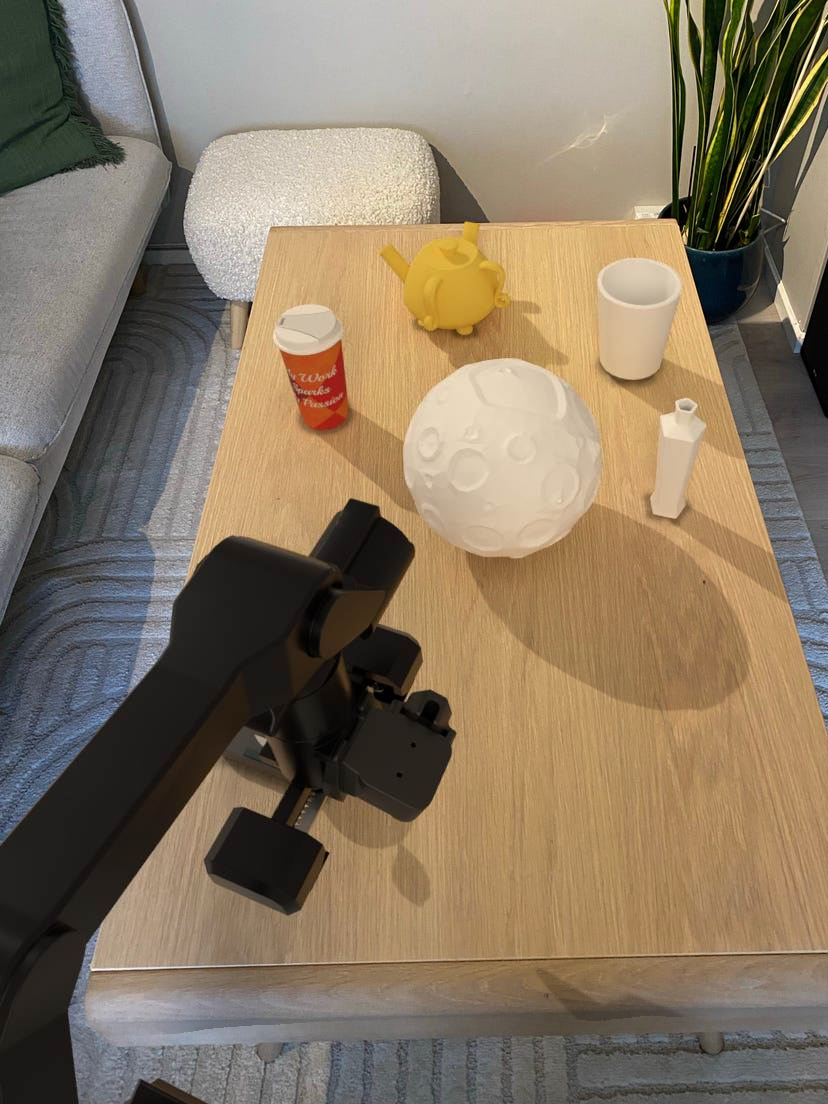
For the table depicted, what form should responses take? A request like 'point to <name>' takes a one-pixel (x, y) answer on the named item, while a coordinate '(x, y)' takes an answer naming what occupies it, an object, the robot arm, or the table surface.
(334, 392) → the paper cup
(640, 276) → the cup
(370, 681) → the robot arm
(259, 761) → the scale
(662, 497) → the white faceted vase
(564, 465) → the decorative sphere
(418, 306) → the teapot
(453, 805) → the table surface
